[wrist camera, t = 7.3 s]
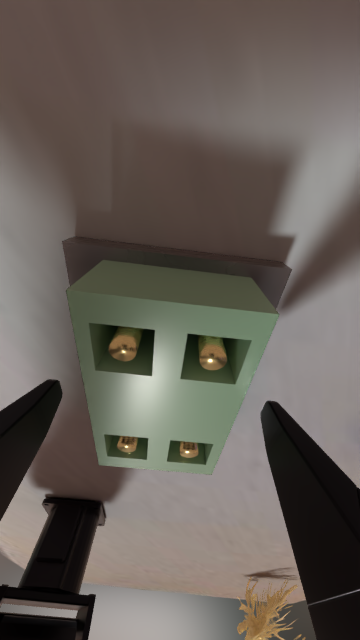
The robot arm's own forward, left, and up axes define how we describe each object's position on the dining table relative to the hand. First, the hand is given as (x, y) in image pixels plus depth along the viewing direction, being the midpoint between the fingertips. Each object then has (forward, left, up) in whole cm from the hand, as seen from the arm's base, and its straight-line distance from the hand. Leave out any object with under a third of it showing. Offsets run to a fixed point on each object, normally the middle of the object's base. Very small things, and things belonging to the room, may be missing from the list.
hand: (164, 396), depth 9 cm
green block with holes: (0, 0, -2) cm, 2 cm away
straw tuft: (-59, -25, -4) cm, 64 cm away
